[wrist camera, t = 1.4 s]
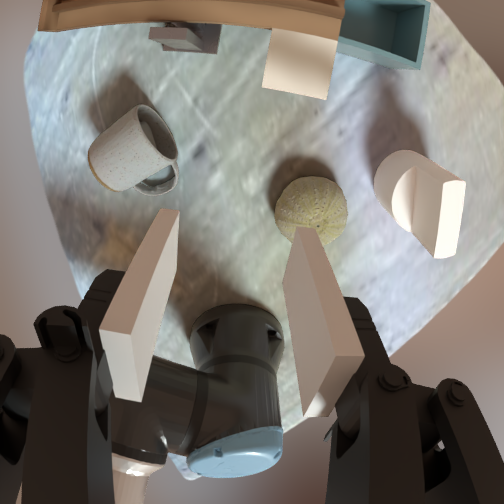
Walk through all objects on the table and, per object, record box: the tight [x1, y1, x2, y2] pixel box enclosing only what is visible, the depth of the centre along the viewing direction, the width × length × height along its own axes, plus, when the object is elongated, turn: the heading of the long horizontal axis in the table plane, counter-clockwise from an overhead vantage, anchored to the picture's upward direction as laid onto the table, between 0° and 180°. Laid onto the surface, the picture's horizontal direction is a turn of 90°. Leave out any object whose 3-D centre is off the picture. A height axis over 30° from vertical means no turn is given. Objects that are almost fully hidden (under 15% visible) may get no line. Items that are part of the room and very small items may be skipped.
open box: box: [336, 0, 431, 70], centre depth 26 cm, size 8×10×8 cm
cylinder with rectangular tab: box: [373, 150, 466, 259], centre depth 34 cm, size 9×9×12 cm
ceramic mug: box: [88, 104, 179, 196], centre depth 33 cm, size 11×8×8 cm
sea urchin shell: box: [274, 176, 348, 246], centre depth 39 cm, size 9×8×8 cm
